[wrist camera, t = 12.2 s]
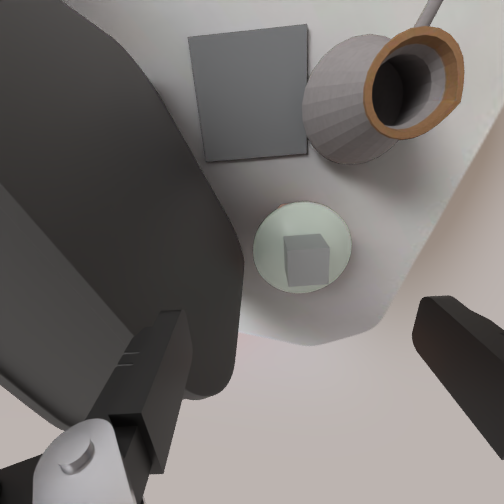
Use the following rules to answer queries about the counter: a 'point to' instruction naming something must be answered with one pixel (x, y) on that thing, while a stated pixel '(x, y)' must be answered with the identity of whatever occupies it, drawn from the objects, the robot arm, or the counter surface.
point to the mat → (251, 92)
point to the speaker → (99, 219)
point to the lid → (302, 247)
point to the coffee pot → (382, 90)
